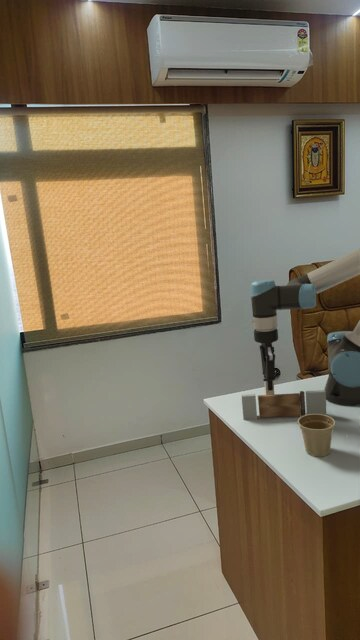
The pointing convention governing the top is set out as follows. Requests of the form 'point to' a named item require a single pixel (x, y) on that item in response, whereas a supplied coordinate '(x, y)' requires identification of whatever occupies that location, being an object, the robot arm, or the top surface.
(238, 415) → the top surface
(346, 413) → the top surface
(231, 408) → the top surface
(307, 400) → the wall
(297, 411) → the door
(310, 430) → the flower pot
